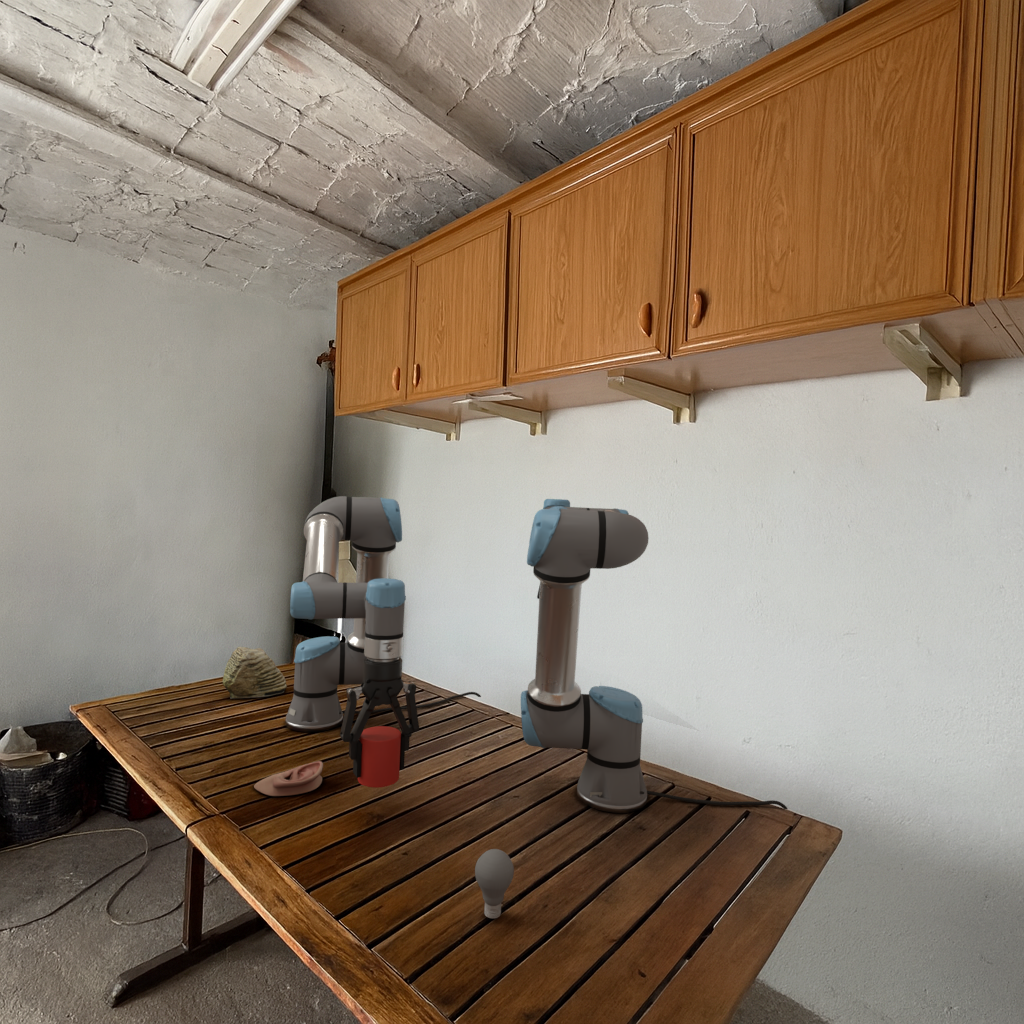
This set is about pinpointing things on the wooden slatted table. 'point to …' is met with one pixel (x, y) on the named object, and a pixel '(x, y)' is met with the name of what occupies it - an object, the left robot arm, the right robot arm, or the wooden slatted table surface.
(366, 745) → the canister
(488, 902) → the light bulb
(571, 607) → the right robot arm
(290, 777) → the anatomical model
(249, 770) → the wooden slatted table surface
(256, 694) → the fossil
